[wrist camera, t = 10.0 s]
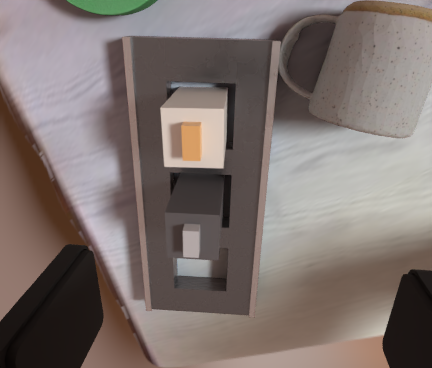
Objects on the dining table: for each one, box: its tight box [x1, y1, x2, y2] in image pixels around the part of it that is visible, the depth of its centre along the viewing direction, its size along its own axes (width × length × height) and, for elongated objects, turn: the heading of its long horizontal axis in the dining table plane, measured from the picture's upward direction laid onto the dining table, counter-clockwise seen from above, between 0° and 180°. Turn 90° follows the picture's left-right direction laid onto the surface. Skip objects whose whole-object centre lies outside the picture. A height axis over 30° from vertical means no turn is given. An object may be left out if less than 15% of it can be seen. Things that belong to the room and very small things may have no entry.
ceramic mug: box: [278, 1, 432, 138], centre depth 25 cm, size 11×8×8 cm
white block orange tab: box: [160, 87, 228, 168], centre depth 27 cm, size 4×4×9 cm
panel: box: [122, 36, 281, 318], centre depth 33 cm, size 12×28×2 cm, turn 179°
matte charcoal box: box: [165, 173, 224, 260], centre depth 30 cm, size 4×4×9 cm
